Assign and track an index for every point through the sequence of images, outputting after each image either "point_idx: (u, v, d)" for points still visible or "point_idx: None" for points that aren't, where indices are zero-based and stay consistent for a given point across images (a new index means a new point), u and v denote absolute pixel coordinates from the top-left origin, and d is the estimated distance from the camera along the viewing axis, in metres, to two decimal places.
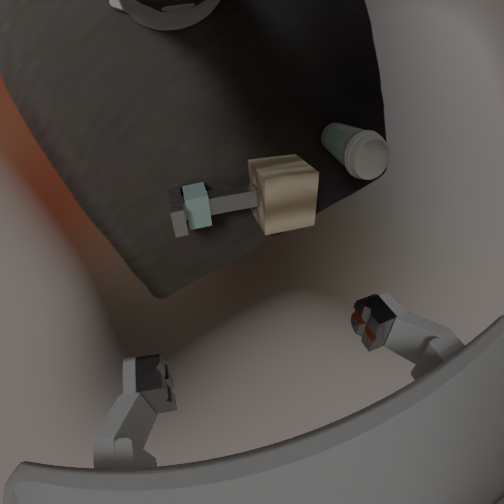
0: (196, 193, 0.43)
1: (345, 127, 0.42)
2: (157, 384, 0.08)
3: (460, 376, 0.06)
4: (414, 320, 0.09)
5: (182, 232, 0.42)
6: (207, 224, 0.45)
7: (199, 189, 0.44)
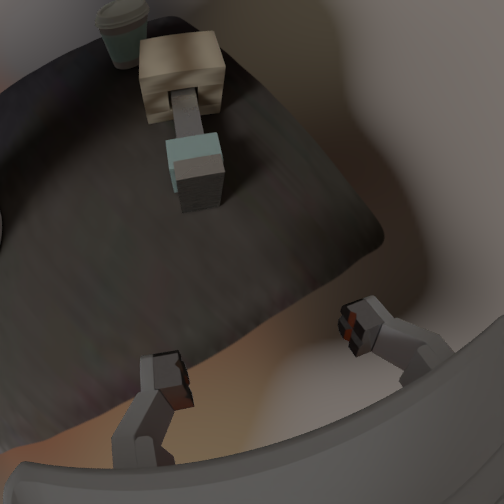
0: None
1: (106, 46, 0.30)
2: (176, 381, 0.08)
3: (460, 376, 0.06)
4: (402, 326, 0.09)
5: (215, 162, 0.24)
6: (214, 137, 0.27)
7: None
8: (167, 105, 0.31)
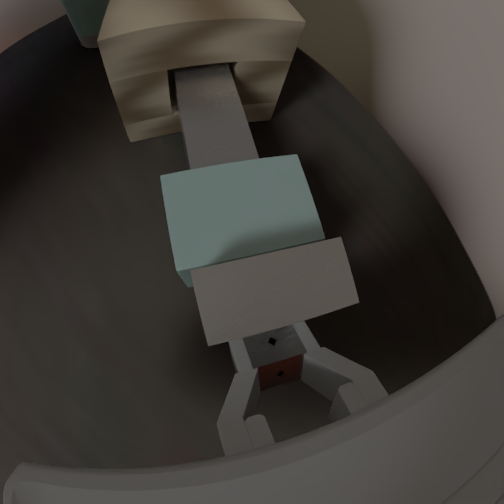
0: None
1: None
2: (273, 357, 0.09)
3: (460, 376, 0.06)
4: (327, 358, 0.09)
5: (330, 271, 0.08)
6: (294, 170, 0.11)
7: None
8: (167, 103, 0.14)
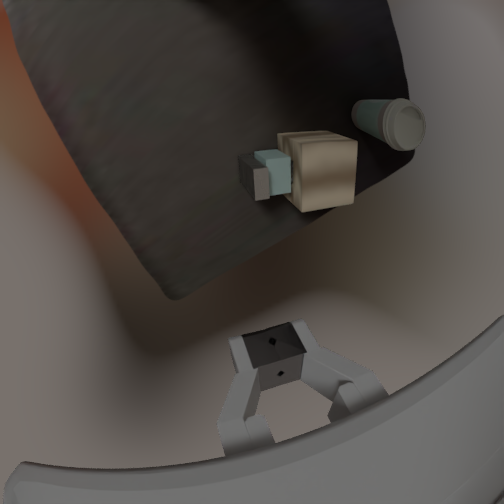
0: (275, 155, 0.38)
1: (377, 100, 0.37)
2: (273, 357, 0.09)
3: (460, 376, 0.06)
4: (327, 358, 0.09)
5: (263, 194, 0.37)
6: (286, 190, 0.40)
7: (276, 153, 0.39)
8: None
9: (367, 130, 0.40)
